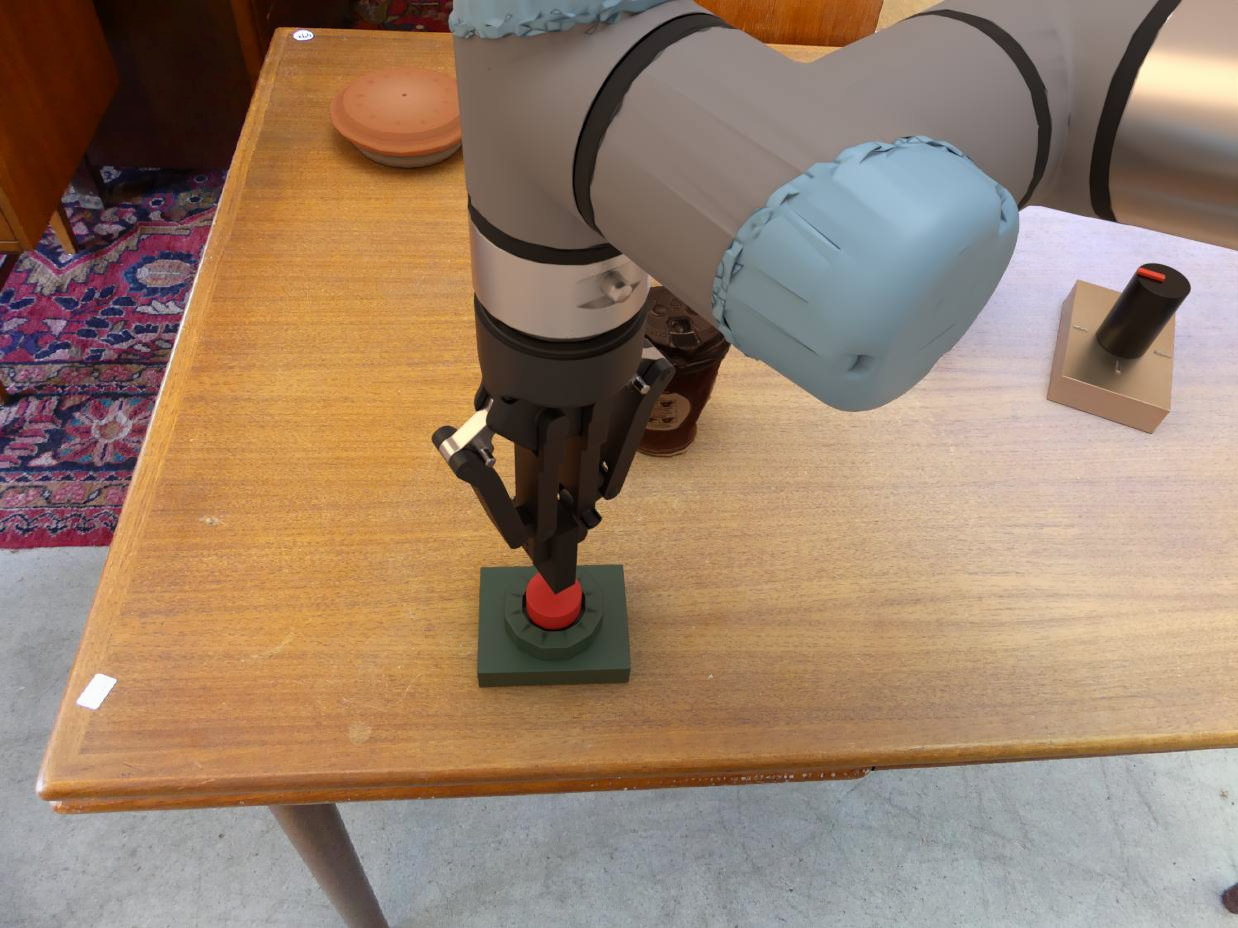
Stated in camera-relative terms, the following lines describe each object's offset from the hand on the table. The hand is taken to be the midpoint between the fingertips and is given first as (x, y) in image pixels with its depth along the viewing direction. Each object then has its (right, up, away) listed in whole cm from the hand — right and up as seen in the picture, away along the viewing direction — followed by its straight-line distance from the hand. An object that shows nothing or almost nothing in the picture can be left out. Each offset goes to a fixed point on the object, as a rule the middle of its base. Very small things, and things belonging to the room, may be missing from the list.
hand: (553, 573), depth 58 cm
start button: (0, -3, +3) cm, 4 cm away
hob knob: (+49, +18, +24) cm, 57 cm away
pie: (-18, +42, +41) cm, 61 cm away
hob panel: (+49, +16, +26) cm, 58 cm away
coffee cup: (+7, +10, +18) cm, 22 cm away
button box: (-1, -5, +6) cm, 8 cm away
